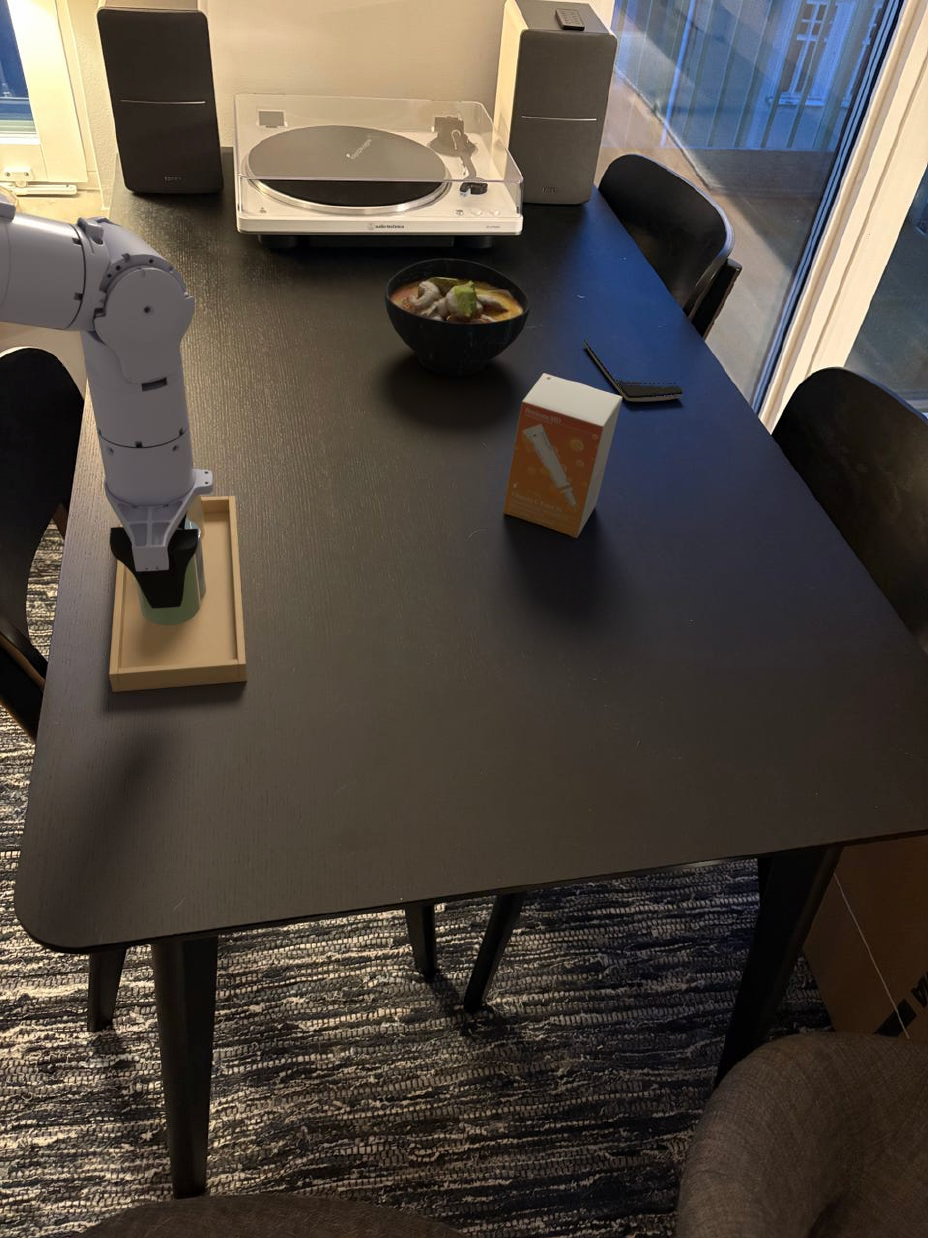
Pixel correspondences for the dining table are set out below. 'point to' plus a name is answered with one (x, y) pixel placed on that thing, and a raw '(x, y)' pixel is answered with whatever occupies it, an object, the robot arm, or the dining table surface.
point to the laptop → (639, 387)
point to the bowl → (455, 313)
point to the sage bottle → (175, 614)
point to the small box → (560, 453)
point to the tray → (197, 645)
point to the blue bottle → (198, 559)
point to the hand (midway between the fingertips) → (166, 582)
